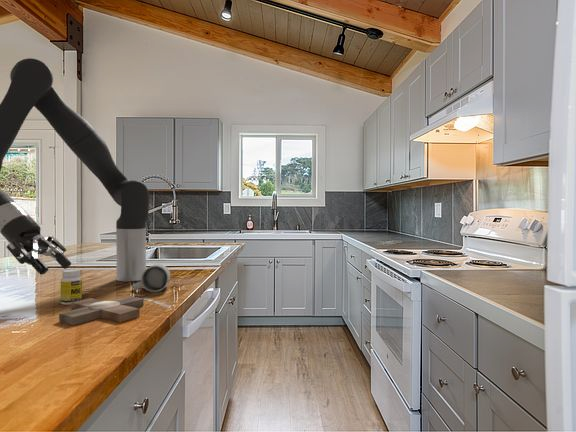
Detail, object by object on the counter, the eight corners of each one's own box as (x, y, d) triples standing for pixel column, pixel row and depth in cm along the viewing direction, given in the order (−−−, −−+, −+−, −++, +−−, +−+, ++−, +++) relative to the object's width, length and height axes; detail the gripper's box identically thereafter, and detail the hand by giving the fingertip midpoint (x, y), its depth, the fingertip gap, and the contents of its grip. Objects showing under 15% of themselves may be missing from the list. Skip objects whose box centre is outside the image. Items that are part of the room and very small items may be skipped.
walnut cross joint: (42, 317, 84) (42, 308, 84) (114, 299, 100) (114, 292, 100) (91, 331, 76) (91, 321, 76) (161, 309, 91) (161, 301, 91)
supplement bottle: (72, 305, 94) (71, 272, 94) (56, 304, 95) (55, 271, 95) (86, 300, 99) (85, 269, 98) (70, 299, 100) (70, 268, 99)
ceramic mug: (171, 285, 118) (170, 261, 118) (168, 291, 110) (168, 265, 110) (135, 287, 116) (134, 262, 115) (129, 293, 108) (129, 267, 107)
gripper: (1, 214, 90) (47, 263, 89) (44, 213, 104) (84, 255, 104) (-19, 236, 90) (26, 285, 90) (26, 232, 105) (66, 274, 104)
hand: (57, 269), depth 97 cm, fingers open, 8 cm apart
